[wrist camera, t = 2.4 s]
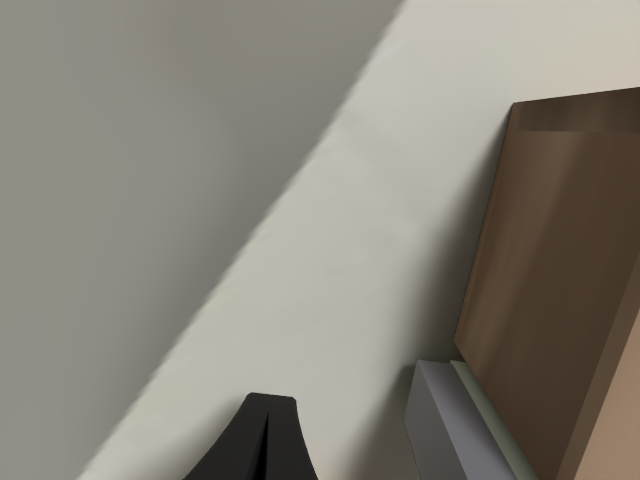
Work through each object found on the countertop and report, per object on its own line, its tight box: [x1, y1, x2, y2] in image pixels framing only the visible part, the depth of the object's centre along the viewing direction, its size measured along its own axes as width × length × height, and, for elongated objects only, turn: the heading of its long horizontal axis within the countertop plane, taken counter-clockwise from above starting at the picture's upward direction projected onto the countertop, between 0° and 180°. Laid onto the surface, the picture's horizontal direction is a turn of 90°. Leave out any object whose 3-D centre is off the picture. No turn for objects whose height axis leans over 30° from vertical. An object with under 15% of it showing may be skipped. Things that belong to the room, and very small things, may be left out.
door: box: [403, 360, 540, 480], centre depth 11 cm, size 8×2×6 cm, turn 82°
